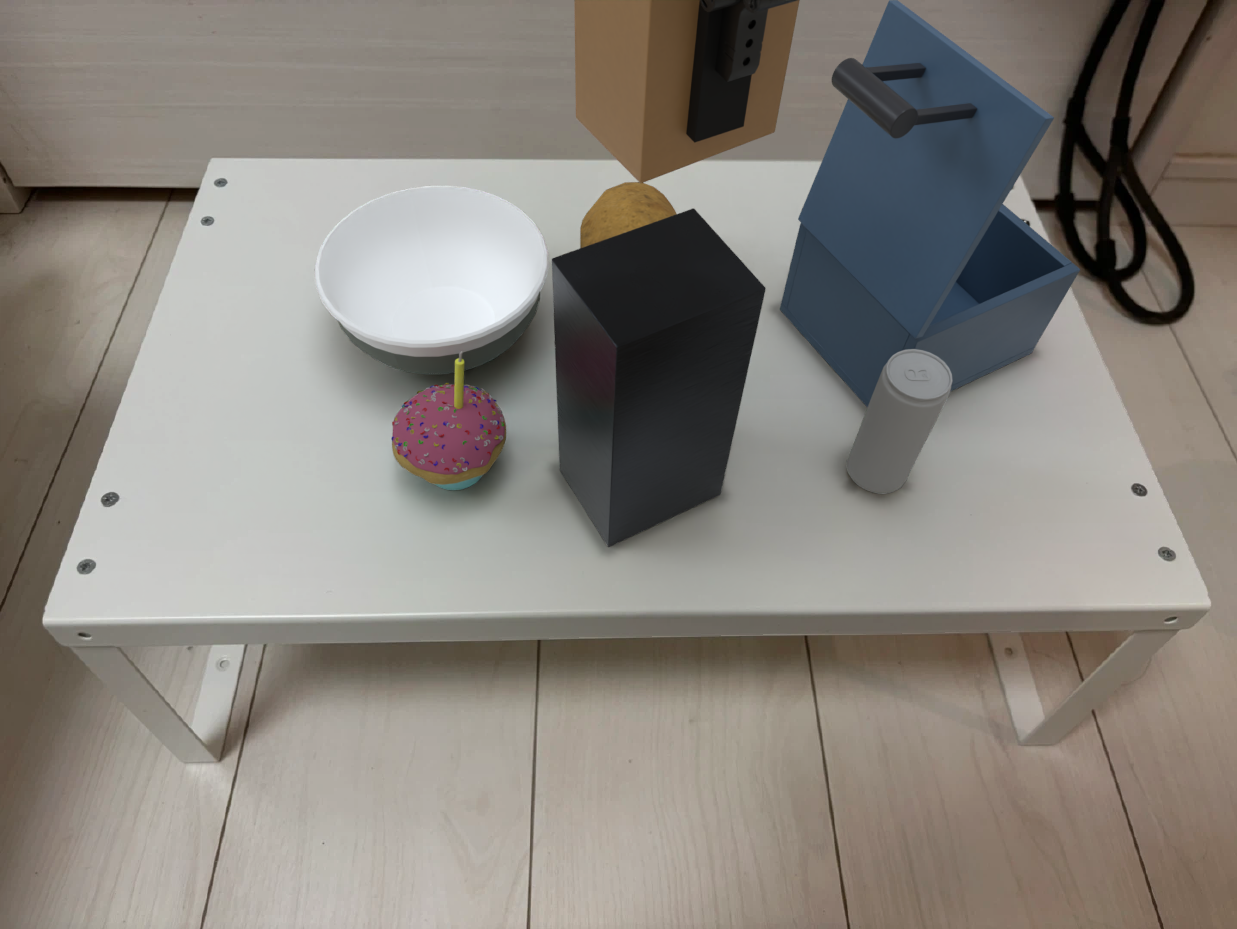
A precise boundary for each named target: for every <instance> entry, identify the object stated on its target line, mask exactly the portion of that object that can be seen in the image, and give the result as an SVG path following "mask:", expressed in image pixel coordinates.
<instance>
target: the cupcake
mask: <svg viewBox="0 0 1237 929" xmlns="http://www.w3.org/2000/svg"><path fill="white" fill-rule="evenodd" d="M462 354H463V351H460V354H459V358H458V359H456V360H455V373H454V383H453V384H450V383H449V382H446V383H444V384H440V385H438V384H434V385H431V386H429V387H425V389H422V390H418V391H417V392H416V393H417V394H416V395H414V396H412V397H411V398H410V399H409V400H406V401H404V402H403V404H402V405H401V408H400V410H398V412H397V413H396V414H395V416H394V418H393V421H391V425H392V433H391V435H392V436H391V450H392V454H393V457H394V459H395V460H396V462H397V463H398V464H399V466H401V467H402V468H403V469H405V470H406V471H407V472H408V473H409V474H412V475H413V476H415V477H419V478H420V479H423V480H424V481H426V482H427V483H429V484H432V485H435V486H436V487H438V488H440V489H443V490H448V491H460V490H464V489H467V488H470V487H472V486H473V485H475V484H476V483H478V482H479V481H480V480H481V479H482V478H483V476H484V475H485V474H487V473H488V472H489V471H490V469H491V468H492V466H493V465H494V464H495V462H496V461H497V459H498V458H499V457H500V455H501V453H502V452H503V449H504V447H505V444H506V440H507V424H506V419H505V417H504V415H503V410H501V407H500V406H499V405H498V404H497V400H496V399H494V398H493V397H492V395H491V394H490V393H488V392H487V391H486V390H485V389H484V388H482V387H481V388H479V387H477V386H474V385H470V384H465V371H464V360H463V359H462Z"/></svg>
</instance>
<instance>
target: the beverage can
mask: <svg viewBox="0 0 1237 929" xmlns="http://www.w3.org/2000/svg"><path fill="white" fill-rule="evenodd" d="M951 385H952V374H951V371H950V369H949V367H948V366H947V365H946V363H945V362H944V361H943V360H941V359H940V358H939V357H937V356H936V355H934V354H932V353H930V352H926V351H923V350H917V349H908V350H903V351H900V352H897V353H896V354H894V355H893V356H892V357H891V358H890V359H889V360H888V362H887V363H886V365H885V366H884V367H883V370H882V372H881V375H880V377H879V380H878V382H877V385H876V387H875V390H874V392H873V395H872V397H871V400H870V402H869V405H868V407H867V406H866V410H865V413H864V416H863V418H862V421H861V422H860V425H859V428H858V429H857V433H856V436H855V438H854V440H853V443H852V446H851V448H850V450H849V453H848V456H847V459H846V466H845V467H846V471H847V473H848V475H849V477H850V479H851V480H852V481H853V482H854V483H855V484H856V485H857V486H858V487H860V488H861V489H863V490H865V491H868V492H870V493H872V494H873V493H875V494H879V495H882V494H883V495H884V494H885V495H886V494H890V493H893V492H897V491H898V490H899V489H901V488H902V487H903V486H904V484H906V481H907V480H908V478H909V476H910V474H911V472H912V470H913V468H914V466H915V464H916V462H917V460H918V458H919V456H920V454H921V452H922V450H923V448H924V446H925V444H926V442H927V441H928V438H929V436H930V434H931V432H932V431H933V428H934V426H935V424H936V422H937V420H938V418H939V417H940V414H941V412H942V410H943V409H944V406H945V405H946V402H947V400H948V399H949V397H950V395H951V394H950V393H951V391H950V390H951Z"/></svg>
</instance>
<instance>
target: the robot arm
mask: <svg viewBox="0 0 1237 929" xmlns="http://www.w3.org/2000/svg"><path fill="white" fill-rule="evenodd" d="M794 1H797V0H700V1H699V11H698V21H697V31H696V41H695V51H694V61H693V71H692V81H691V91H690V101H689V111H688V121H687V131H686V134H687V135H688V136H689V137H690V138H691V139H692V141H693V142H694V143H695V142H698V141H701V140H704V139H707V138H710V137H713V136H716V135H720V134H723V133H726V132H729V131H732V130H735V129H738V128H741V127H744V122H745V115H746V109H747V102H748V96H749V90H750V83H751V77H752V74H755V72H756V70H757V68H758V66H759V63H760V57H761V53H760V52H761V50H762V42H763V38H764V32H765V26H766V20H767V13H768V9H770V8H773V7H777V6H780V5H784V4H787V3H791V2H794Z"/></svg>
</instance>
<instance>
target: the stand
mask: <svg viewBox="0 0 1237 929" xmlns="http://www.w3.org/2000/svg"><path fill="white" fill-rule="evenodd" d="M551 279H552V280H551V282H552V283H551V284H552V303H553V304H552V308H553V331H554V332H553V333H554V359H555V386H556V387H555V388H556V408H557V409H556V410H557V433H558V434H557V436H558V459H559V460H558V464H559V465H558V466H559V471H560V473H561V475H562V476H563V478H564V479H565V481H566V483H568V486H569V487H570V489H571V491H572V493H573V494H574V495H575V497H576V499H577V500H578V502H579V503H580V505H581V506H582V508H583V510H584V511H585V513H586V514H587V516H588V517H589V519H590V521H591V522H592V524H593V525H594V527H595V529H596V531H597V532H598V534H599V535H600V536H601V539H602V540H603V541H604V543H605V545H606V546H607V547H608V548H610V547H612V546H614V545H616V544H619V543H621V542H623V541H625V540H627V539H630V538H631V537H634V536H635V535H638V534H640V533H642V532H644V531H646V530H648V529H651V528H653V527H655V526H657V525H659V524H662V523H663V522H666V521H667V520H670V519H672V518H675V517H676V516H678V515H680V514H683V513H685V512H687V511H689V510H691V509H693V508H695V507H698V506H699V505H702V504H704V503H706V502H708V501H711V500H713V499H715V498H716V497H719V496H721V495H722V490H723V487H724V486H723V485H724V481H725V477H726V472H727V467H728V463H729V458H730V454H731V449H732V446H733V445H732V444H733V441H734V435H735V431H736V427H737V421H738V417H739V413H740V408H741V404H742V400H743V396H744V395H743V394H744V390H745V387H746V386H745V385H746V381H747V377H748V373H749V372H748V371H749V367H750V362H751V357H752V354H753V348H754V344H755V340H756V335H757V330H758V327H759V325H758V324H759V321H760V318H761V313H762V308H763V303H764V298H765V294H766V290H767V289H766V286H765V285H764V284H763V283H762V282H761V280H759V278H758V277H757V276H756V275H755V274H754V273H753V272H752V271H751V270H750V268H748V267H747V265H746V264H745V263H744V262H743V260H741V259H740V258H739V257H738V255H737V254H736V253H735V252H734V251H733V250H732V248H730V246H729V245H728V244H727V243H726V242H725V241H724V240H723V239H722V237H720V235H719V234H718V233H717V232H716V230H714V229H713V227H712V226H711V225H710V224H709V223H708V222H707V221H706V219H704V218H703V217H702V215H701V214H700V213H699V212H698V211H697V210H696V208H695V207H694V208H690V209H687V210H684V211H681V212H678V213H676V215H673V216H670V217H667V218H665V219H662V220H659V221H656V222H653V223H651V224H648V225H645V226H642V227H639V228H636V229H634V230H631V231H628V232H625V233H622V234H619V235H617V236H614V237H611V238H608V239H605V240H603V241H600V242H597V243H594V244H591V245H588V246H586V247H583V248H580V247H579V248H577V249H574V250H572V251H569V252H566V253H564V254H560V255H557V256H555V257H552V258H551Z"/></svg>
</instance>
